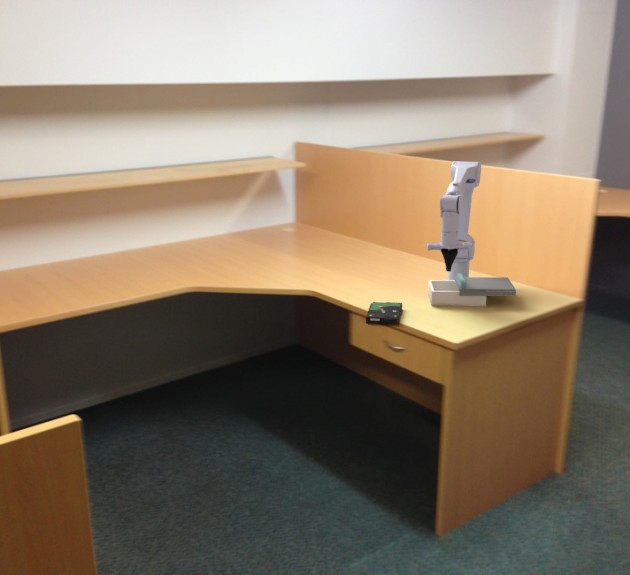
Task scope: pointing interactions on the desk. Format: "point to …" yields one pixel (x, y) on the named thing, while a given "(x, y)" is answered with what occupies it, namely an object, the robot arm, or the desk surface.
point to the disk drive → (384, 313)
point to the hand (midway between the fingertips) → (448, 270)
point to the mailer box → (451, 295)
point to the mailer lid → (484, 286)
